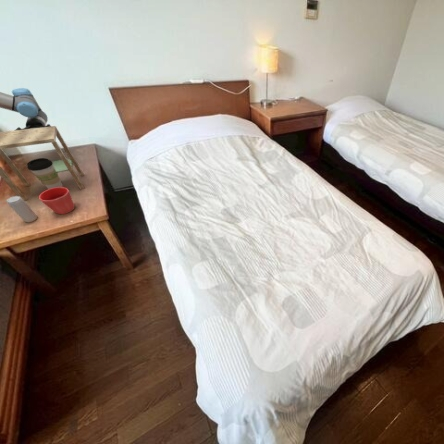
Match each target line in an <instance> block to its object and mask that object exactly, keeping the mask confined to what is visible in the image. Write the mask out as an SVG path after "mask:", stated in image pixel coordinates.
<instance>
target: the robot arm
mask: <svg viewBox="0 0 444 444" xmlns="http://www.w3.org/2000/svg"><path fill="white" fill-rule="evenodd" d="M0 109H4V110H8V111H11V112H15V113H19V114H20V115H21V116H22V117H25V118H27V119H26V121H25V127H23V128H21V127H19V126H18V127H17V128H16V129H15V130H23V129H33V128H42V127H51V126H52V125H51V124H49V123H48V120H49V119H48V115H47V113H46V112H44V111H43V109H42V108H41V107H40V105H39V103H38V102H37V99H36V98H35V97H34V95H33V93H32V92H31V91H30V89H29V88H24V87H21V88H13V89H12V90H11V94H9V93H6V92H5V93H4V92H1V91H0ZM47 123H48V124H47Z"/></svg>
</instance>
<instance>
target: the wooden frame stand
mask: <svg viewBox="0 0 444 444" xmlns="http://www.w3.org/2000/svg"><path fill="white" fill-rule="evenodd" d="M50 126H51V127H42V128H33V129H23V128H22V129H23V130H16V129H14V130H5V131H0V157H2V159H3V161H5V163H6V164H7V165H8V166H9V167H10V169H11V170H12V171H13V172H14V174H15V175H16V176H17V177H18V178H19V180H20V181H21V182H22V184H23V185H24V186H25V187H30V186H31V183H30V181H28V180H27V178H26V177H25V176H24V175H23V173H22V172H21V170H20V169H19V168H18V167H17V166H16V164H15V163H14V161H12V159H11V158H10V157H9V156H8V154H7V153H6V152H5V151H4V150H5V149H12V148H20V147H28V146H35V145H41V144H50V143H51V145H52V147H53V148H54V149H55V151H56V153H57V154H58V156H59V157H60V160H63V162H64V164H65V165H66V167H67V168H68V172H69V173H70V175H71V176H72V178H73V180H74V181H75V183H76V184H77V186H78V187H79V189H80V190H84V189H85V186H84V185H83V182H82V181H81V179H80V178H79V176H80V177H84V175H85V174H84V172H83V171H82V169H81V167H80V165H79V164H78V162H77V160H76V158H75V157H74V155H73V153H72V152H71V150H70V148H69V146H68V144H67V143H66V142H65V140H64V138H63V136H62V134H61V133H60V131H59V129H58V128H57V126H56V125H53V126H52V125H50ZM57 139H58V142H59V143H60V144H61V146H62V148H63V149H61V147H60V145H59V144H58V142H57ZM63 150H64V151H65V153H66V155H67V157H68V158H67V157H66V155H65V153H64V152H63ZM67 159H70V160H71V161H72V166H71V165H70V163H69V162H68V160H67ZM73 166H74V168H75V170H76V171H77V173H78V174H77V173H76V171H75V170H74V168H73ZM78 175H79V176H78ZM0 177H1V178H2V180H3V181H4V182H5V183H6V184H7V186H9V188H10V189H11V190H12V191H13V192H14V193H15V196H20V197H21V198H22V199H23V200H24V201H25V202H26V201H27V200H28V199H27V197H26V196H25V195H24V193H23V192H22V191H21V190H20V189H19V188H18V187H17V185H16V184H15V183H14V182H13V180H12V179H11V178H10V177H9V176H8V175H7V174H6V172H5V171H4V170H3V168H2V167H1V166H0Z"/></svg>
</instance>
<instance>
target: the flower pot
mask: <svg viewBox="0 0 444 444" xmlns="http://www.w3.org/2000/svg"><path fill="white" fill-rule="evenodd" d="M38 199H39V201H41V202H42V203H43V205H45V206H46V207H47V208H48V209H50V210H51V211H52V212H54V213H55V214H57V215H64V214H68V213H70V212H72V211H73V210H74V209H75V204H74V201H73V197H72V195H71V192H70V190H69V189H68V188H67V187H64V186H62V187H56V188H51V189H48V188H47V189H46V190H44V191H42V192H41V193H40V194H39V196H38Z"/></svg>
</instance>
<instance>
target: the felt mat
mask: <svg viewBox="0 0 444 444" xmlns="http://www.w3.org/2000/svg"><path fill="white" fill-rule="evenodd" d="M67 160H68V162H69V163H70V165H71V166H72V167H73V163H72V161H71V160H70V158H67ZM51 162H52V163H53V164H52V165H53V167H54V168H55V170H56V172H57V173H63V172H67V171H68V172H69V170H68V168H67V167H66V165H65V164H64V162H63V160H62V159H58V160H51Z"/></svg>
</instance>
